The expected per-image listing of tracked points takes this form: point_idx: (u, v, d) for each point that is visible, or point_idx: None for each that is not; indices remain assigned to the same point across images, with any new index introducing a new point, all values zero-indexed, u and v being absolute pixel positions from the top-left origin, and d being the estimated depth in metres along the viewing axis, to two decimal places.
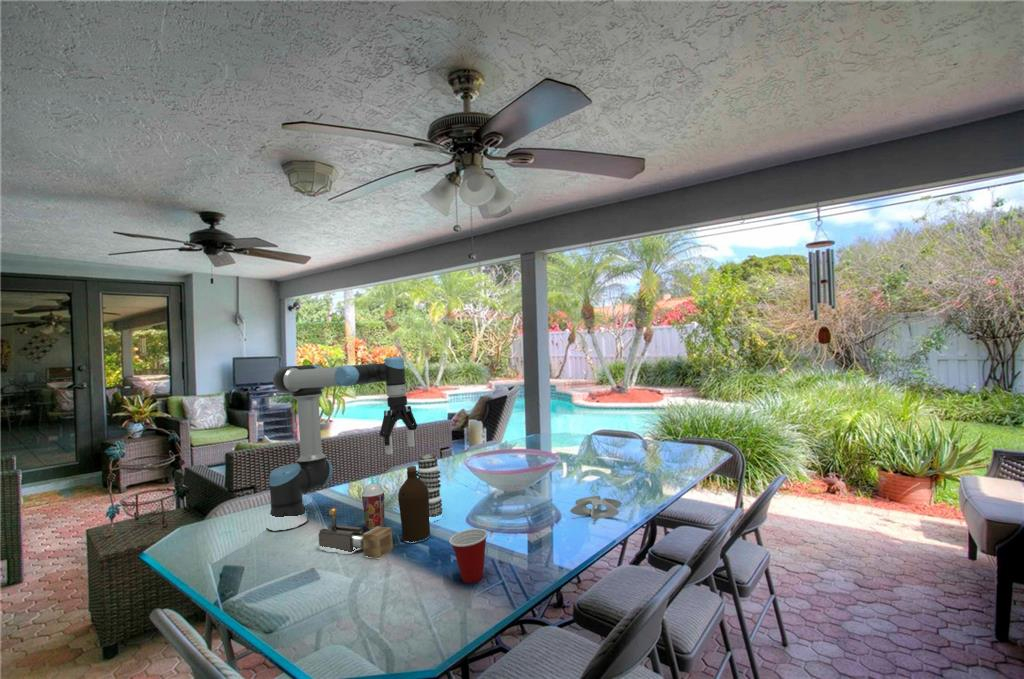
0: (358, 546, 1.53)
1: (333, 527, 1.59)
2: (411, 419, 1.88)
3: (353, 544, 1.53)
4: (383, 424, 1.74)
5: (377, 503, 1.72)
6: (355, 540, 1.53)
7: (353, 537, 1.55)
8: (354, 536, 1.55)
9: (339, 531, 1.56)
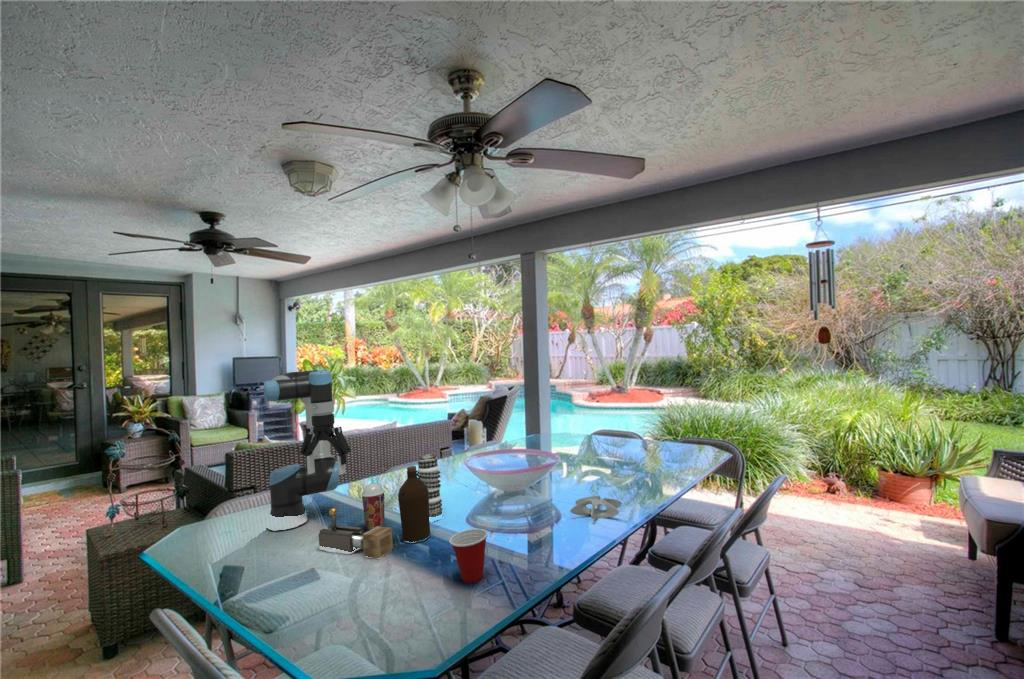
0: (358, 546, 1.53)
1: (333, 527, 1.59)
2: None
3: (353, 544, 1.53)
4: None
5: (377, 503, 1.72)
6: (355, 540, 1.53)
7: (353, 537, 1.55)
8: (354, 536, 1.55)
9: (339, 531, 1.56)
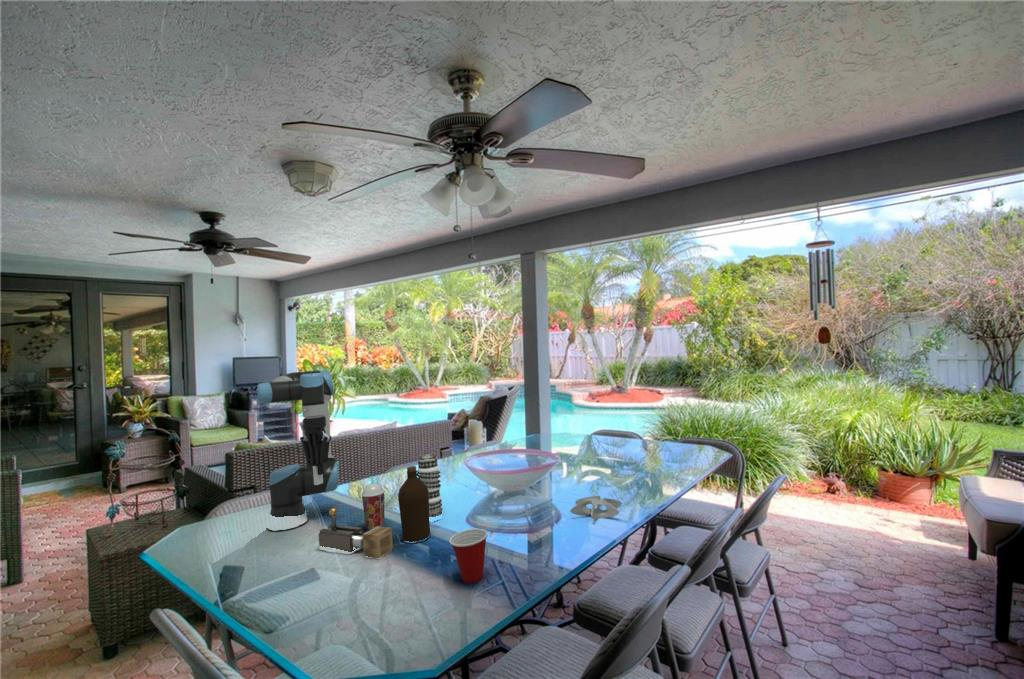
0: (358, 546, 1.53)
1: (333, 527, 1.59)
2: None
3: (353, 544, 1.53)
4: None
5: (377, 503, 1.72)
6: (355, 540, 1.53)
7: (353, 537, 1.55)
8: (354, 536, 1.55)
9: (339, 531, 1.56)
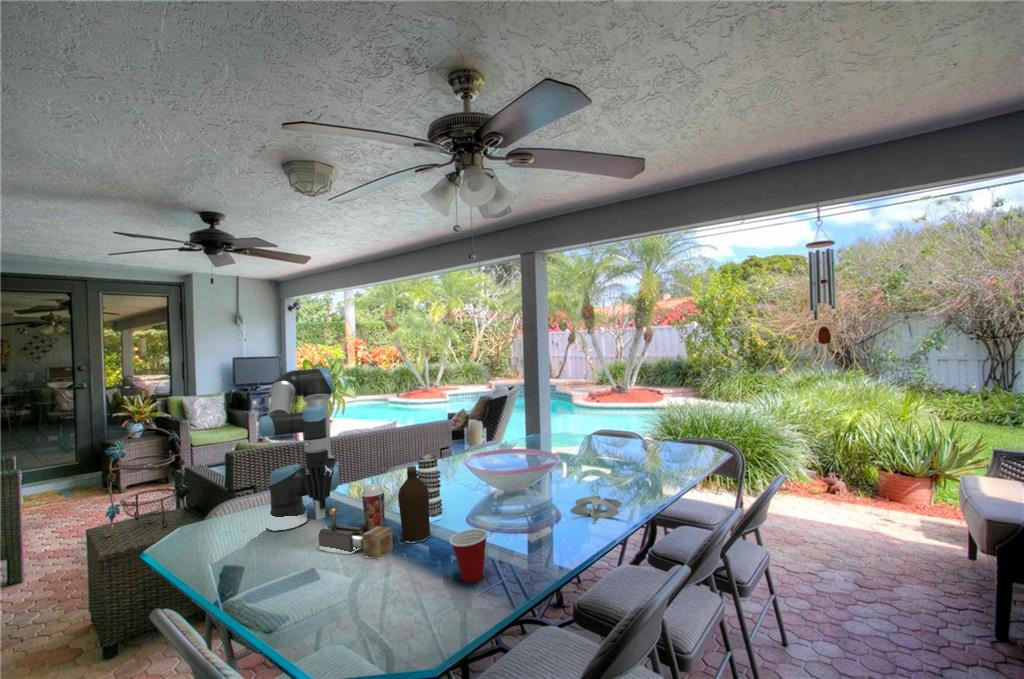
0: (358, 546, 1.53)
1: (333, 527, 1.59)
2: None
3: (353, 544, 1.53)
4: None
5: (377, 503, 1.72)
6: (355, 540, 1.53)
7: (353, 537, 1.55)
8: (354, 536, 1.55)
9: (339, 531, 1.56)
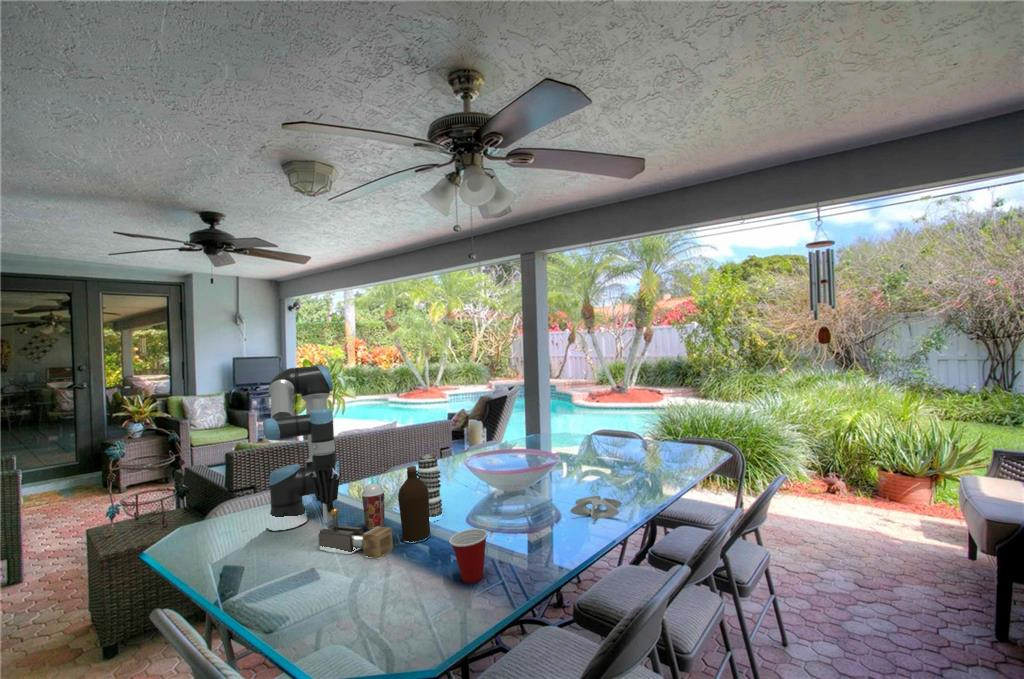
0: (360, 546, 1.52)
1: (335, 527, 1.58)
2: None
3: (355, 544, 1.53)
4: None
5: (377, 503, 1.72)
6: (356, 540, 1.53)
7: (355, 537, 1.54)
8: (356, 536, 1.55)
9: (339, 531, 1.56)
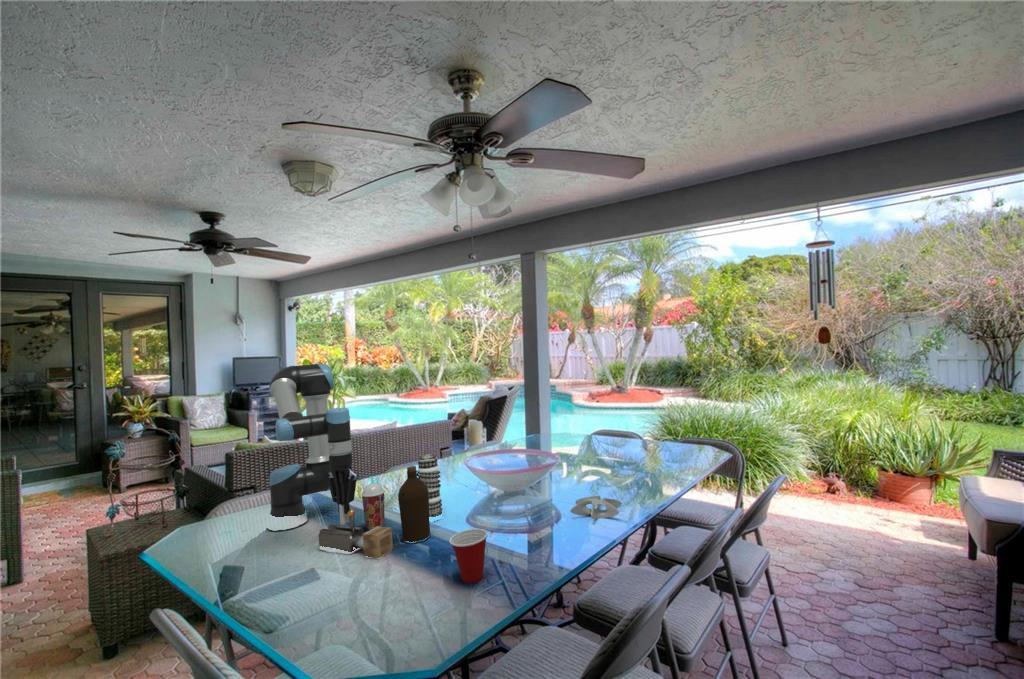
0: None
1: (351, 529, 1.55)
2: None
3: None
4: None
5: (377, 503, 1.72)
6: None
7: None
8: None
9: (339, 531, 1.56)
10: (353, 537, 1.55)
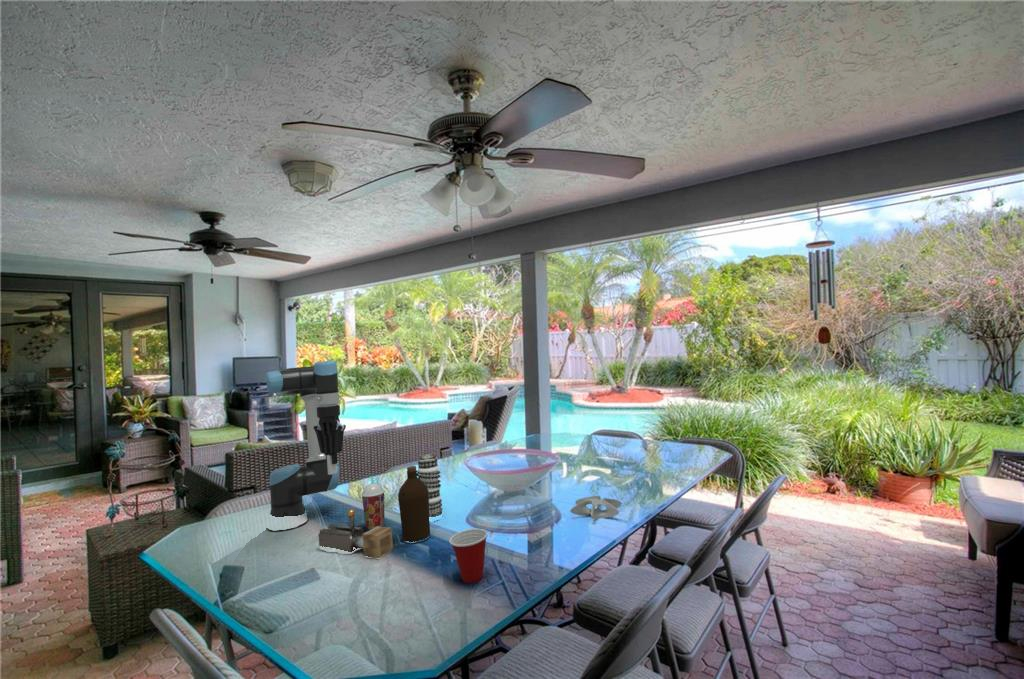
0: None
1: (351, 529, 1.55)
2: None
3: None
4: None
5: (377, 503, 1.72)
6: None
7: None
8: None
9: (339, 531, 1.56)
10: (353, 537, 1.55)
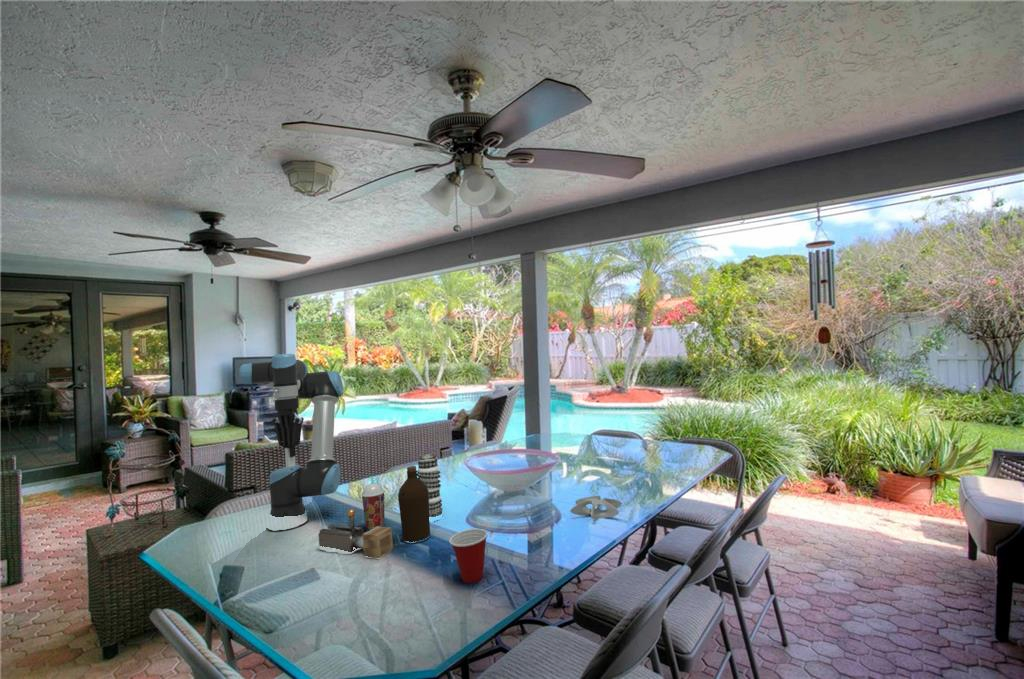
0: None
1: (351, 529, 1.55)
2: None
3: None
4: None
5: (377, 503, 1.72)
6: None
7: None
8: None
9: (339, 531, 1.56)
10: (353, 537, 1.55)
